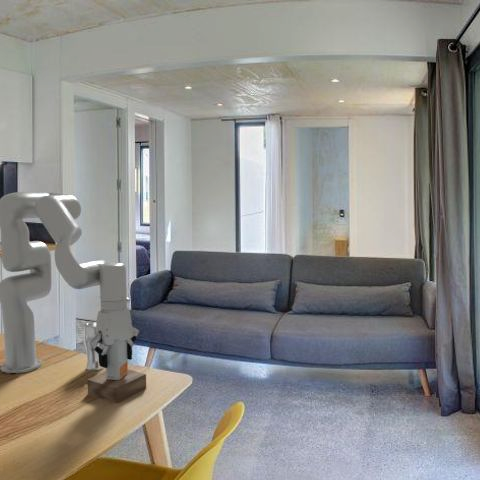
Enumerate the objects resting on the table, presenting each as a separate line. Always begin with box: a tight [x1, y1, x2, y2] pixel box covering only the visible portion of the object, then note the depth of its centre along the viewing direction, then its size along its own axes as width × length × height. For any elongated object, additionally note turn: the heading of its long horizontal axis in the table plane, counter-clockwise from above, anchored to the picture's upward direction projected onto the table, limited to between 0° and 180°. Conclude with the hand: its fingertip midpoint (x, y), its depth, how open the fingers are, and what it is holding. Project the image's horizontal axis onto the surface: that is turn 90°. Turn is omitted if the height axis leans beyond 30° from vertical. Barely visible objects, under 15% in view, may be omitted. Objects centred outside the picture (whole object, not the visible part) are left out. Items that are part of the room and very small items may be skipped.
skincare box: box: [105, 339, 129, 380], centre depth 144 cm, size 6×4×12 cm
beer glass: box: [83, 321, 105, 372], centre depth 163 cm, size 7×7×15 cm
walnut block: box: [86, 369, 147, 404], centre depth 144 cm, size 12×12×5 cm
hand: (116, 362), depth 144 cm, fingers open, 8 cm apart
